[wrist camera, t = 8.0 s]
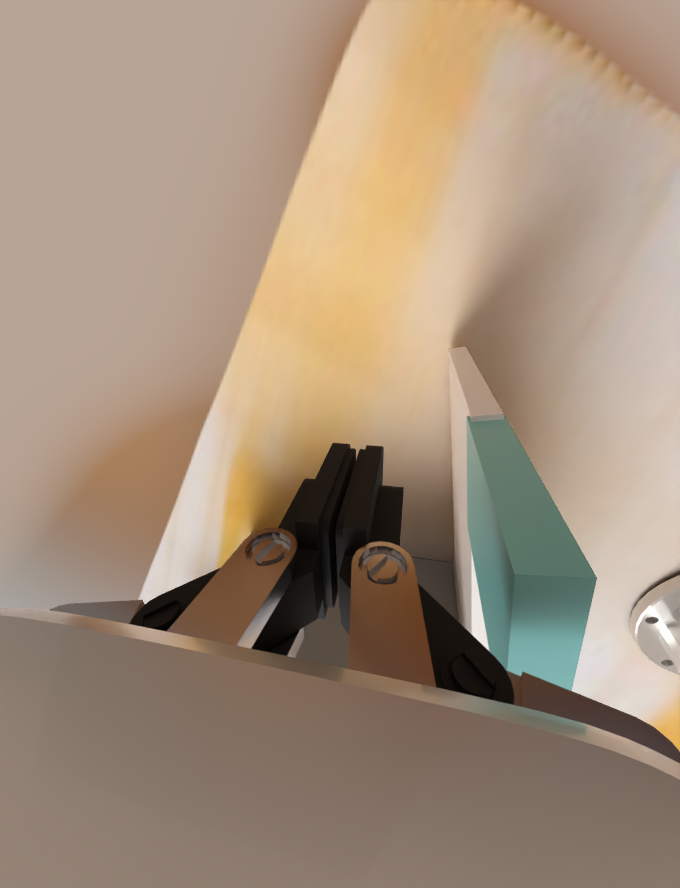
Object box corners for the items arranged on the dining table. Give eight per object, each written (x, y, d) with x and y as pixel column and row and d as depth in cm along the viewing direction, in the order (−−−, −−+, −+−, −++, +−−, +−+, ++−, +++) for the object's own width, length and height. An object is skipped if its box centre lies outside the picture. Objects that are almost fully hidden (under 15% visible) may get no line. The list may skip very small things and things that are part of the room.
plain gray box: (459, 563, 29) (484, 754, 18) (444, 646, 35) (455, 832, 23) (250, 535, 33) (160, 675, 22) (266, 613, 39) (201, 757, 27)
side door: (469, 569, 28) (524, 910, 13) (452, 568, 29) (487, 899, 14) (469, 345, 20) (606, 569, 5) (445, 348, 21) (508, 565, 6)
